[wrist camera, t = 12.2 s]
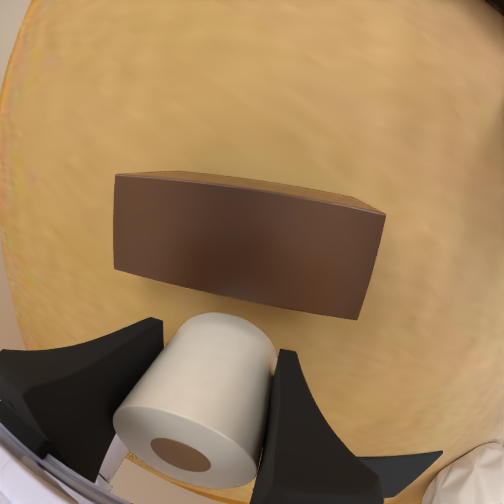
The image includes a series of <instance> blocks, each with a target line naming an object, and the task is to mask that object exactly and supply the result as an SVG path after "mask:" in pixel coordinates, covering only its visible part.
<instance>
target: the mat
mask: <svg viewBox="0 0 504 504" xmlns="http://www.w3.org/2000/svg"><path fill="white" fill-rule="evenodd" d="M442 454H443V451H438V452H431V453H424V454H415V455H404V456H388V457H357V458H358V459H359V460H360V461H361V462H362V463H363V464H365V465H366V466H367V467H368V468H370V469H371V470H372V471H373V472H375V473H376V474H377V475H378V476H379V479H380V482H381V486H382V490H383V498H390V497H395V496H396V495H397V494H398V493H400V492H401V491H402V490H403V489H405V488H406V487H407V486H408V485H409V484H411V483H412V482H413V481H414V480H415V479H416V478H418V477H419V476H420V475H421V474H422V473H423V472H424V471H425V470H426V469H427V468H429V467H430V466H431V465H432V464H433V463H434V462H435V461H436V460H437V459H438V458H439V457H440V456H441V455H442Z"/></svg>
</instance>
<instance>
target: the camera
mask: <svg viewBox="0 0 504 504" xmlns="http://www.w3.org/2000/svg"><path fill="white" fill-rule="evenodd" d="M485 1H487V2H488V3H489V4H490V5H491V6H493V7H494V8H495V9H496V10H497V11H499V12H500V13H501V14H502V15H503V16H504V0H485Z"/></svg>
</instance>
